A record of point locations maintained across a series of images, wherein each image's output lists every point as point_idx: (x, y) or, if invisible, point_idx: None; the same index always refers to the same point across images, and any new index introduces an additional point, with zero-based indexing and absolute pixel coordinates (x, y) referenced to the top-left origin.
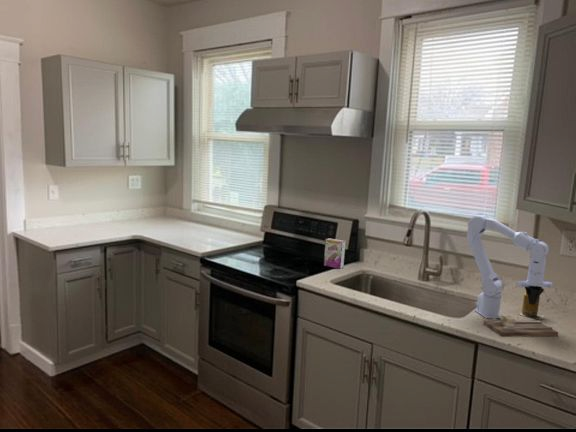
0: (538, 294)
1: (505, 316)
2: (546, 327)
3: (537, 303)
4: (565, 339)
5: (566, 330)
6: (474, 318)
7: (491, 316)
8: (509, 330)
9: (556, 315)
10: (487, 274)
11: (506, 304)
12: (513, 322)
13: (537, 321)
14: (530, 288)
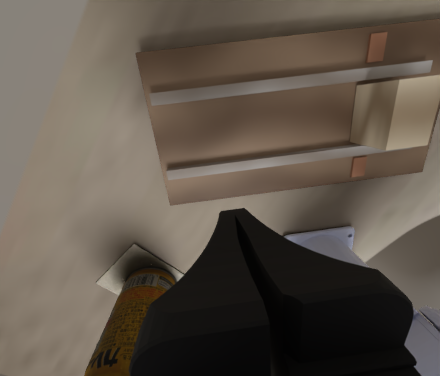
0: (224, 261)
1: (424, 119)
2: (185, 90)
3: (115, 322)
4: (120, 5)
5: (60, 141)
6: (396, 219)
7: (331, 236)
8: (399, 51)
9: (39, 297)
10: None
11: None
12: (386, 81)
13: (187, 174)
14: (397, 348)
